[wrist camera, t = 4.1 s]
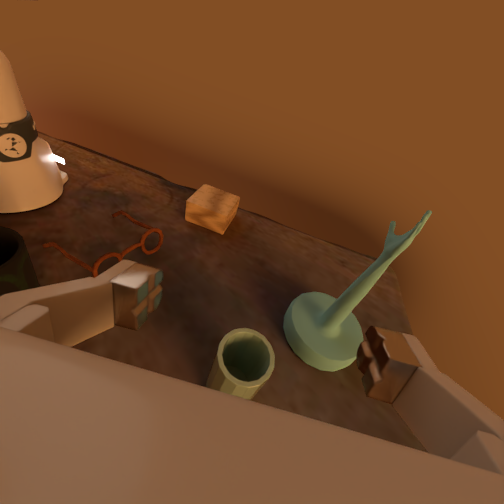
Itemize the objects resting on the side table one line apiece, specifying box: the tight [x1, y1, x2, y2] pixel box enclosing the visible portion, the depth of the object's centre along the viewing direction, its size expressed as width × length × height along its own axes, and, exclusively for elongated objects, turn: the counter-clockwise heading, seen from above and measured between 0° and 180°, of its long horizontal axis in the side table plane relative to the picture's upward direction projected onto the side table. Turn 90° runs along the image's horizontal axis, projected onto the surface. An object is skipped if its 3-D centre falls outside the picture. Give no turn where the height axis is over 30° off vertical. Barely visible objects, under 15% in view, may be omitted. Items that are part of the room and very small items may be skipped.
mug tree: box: [283, 210, 432, 372], centre depth 32 cm, size 13×12×25 cm
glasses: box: [42, 210, 163, 278], centre depth 40 cm, size 13×13×5 cm
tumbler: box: [206, 328, 275, 400], centre depth 28 cm, size 6×6×10 cm
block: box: [185, 184, 240, 235], centre depth 54 cm, size 9×9×5 cm
